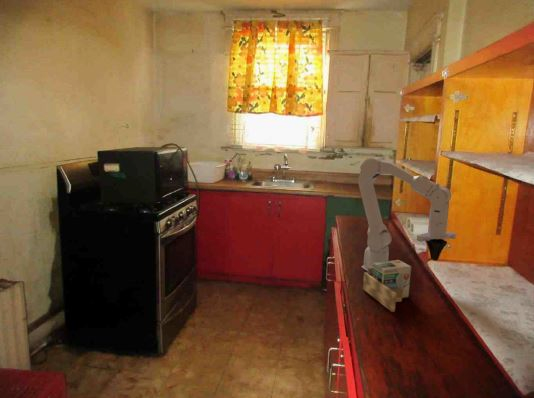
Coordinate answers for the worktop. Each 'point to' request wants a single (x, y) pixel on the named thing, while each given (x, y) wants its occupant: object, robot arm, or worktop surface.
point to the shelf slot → (381, 291)
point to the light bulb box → (393, 275)
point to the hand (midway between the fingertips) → (434, 259)
